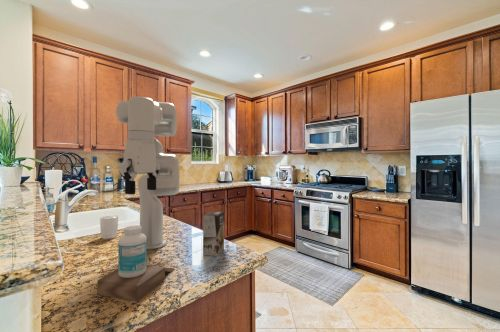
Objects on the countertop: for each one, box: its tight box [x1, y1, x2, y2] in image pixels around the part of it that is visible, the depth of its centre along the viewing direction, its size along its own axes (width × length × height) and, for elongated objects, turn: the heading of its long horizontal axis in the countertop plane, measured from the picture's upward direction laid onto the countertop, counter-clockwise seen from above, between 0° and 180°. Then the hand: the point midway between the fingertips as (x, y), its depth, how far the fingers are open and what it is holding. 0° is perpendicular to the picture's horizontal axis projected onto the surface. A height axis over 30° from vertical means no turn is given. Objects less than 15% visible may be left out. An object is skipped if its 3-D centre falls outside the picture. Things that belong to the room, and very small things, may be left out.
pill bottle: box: [117, 225, 148, 278], centre depth 70 cm, size 8×7×14 cm
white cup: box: [99, 214, 119, 240], centre depth 118 cm, size 8×8×10 cm
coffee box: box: [202, 210, 225, 257], centre depth 99 cm, size 9×6×16 cm
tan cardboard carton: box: [97, 265, 175, 302], centre depth 74 cm, size 13×20×5 cm, turn 166°
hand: (141, 191), depth 76 cm, fingers open, 9 cm apart
